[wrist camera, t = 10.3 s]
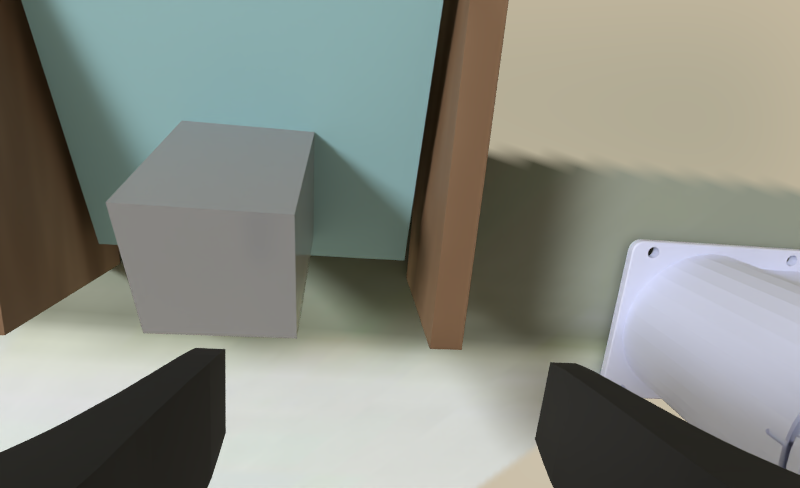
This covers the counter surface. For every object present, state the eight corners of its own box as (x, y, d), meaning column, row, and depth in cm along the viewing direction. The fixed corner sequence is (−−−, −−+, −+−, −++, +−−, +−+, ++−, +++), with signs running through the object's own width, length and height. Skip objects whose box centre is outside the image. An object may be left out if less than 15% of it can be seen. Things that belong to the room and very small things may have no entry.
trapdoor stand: (467, -79, 17) (534, -195, 11) (428, 278, 20) (461, 349, 14) (58, -138, 15) (-148, -317, 9) (94, 262, 19) (-36, 334, 12)
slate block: (314, 131, 14) (294, 214, 10) (313, 236, 17) (296, 338, 13) (181, 120, 14) (105, 202, 10) (199, 229, 16) (143, 332, 12)
